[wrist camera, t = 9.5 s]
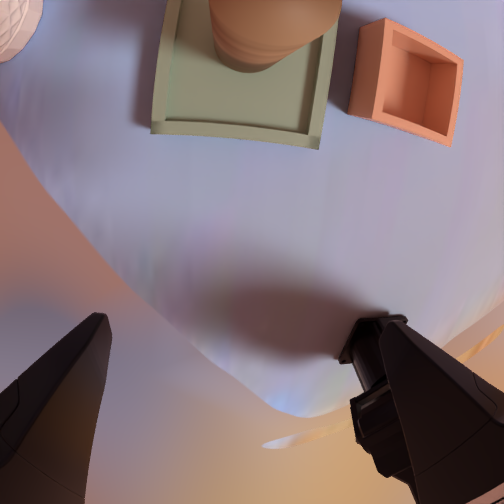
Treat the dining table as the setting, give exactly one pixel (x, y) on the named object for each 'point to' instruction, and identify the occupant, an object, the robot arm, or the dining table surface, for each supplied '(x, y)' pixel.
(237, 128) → the tray
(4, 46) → the pink cylinder
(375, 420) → the robot arm
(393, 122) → the holder
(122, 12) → the dining table surface
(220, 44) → the dowel
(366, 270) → the dining table surface
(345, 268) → the dining table surface
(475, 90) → the dining table surface
